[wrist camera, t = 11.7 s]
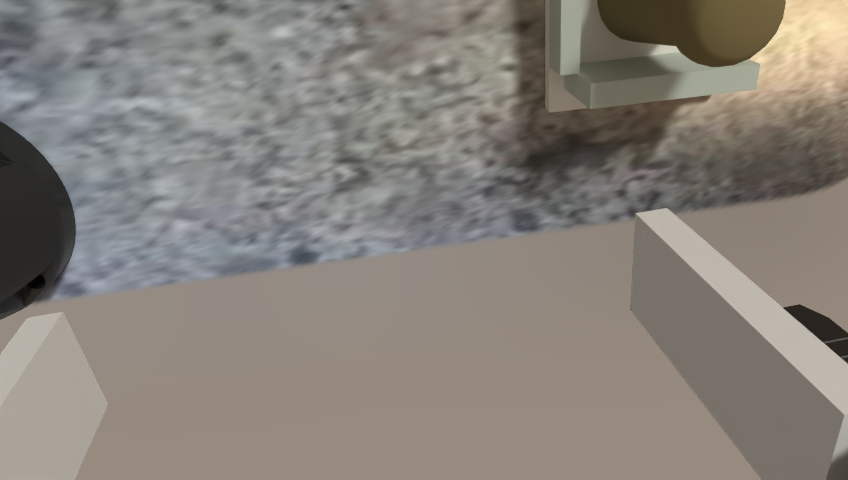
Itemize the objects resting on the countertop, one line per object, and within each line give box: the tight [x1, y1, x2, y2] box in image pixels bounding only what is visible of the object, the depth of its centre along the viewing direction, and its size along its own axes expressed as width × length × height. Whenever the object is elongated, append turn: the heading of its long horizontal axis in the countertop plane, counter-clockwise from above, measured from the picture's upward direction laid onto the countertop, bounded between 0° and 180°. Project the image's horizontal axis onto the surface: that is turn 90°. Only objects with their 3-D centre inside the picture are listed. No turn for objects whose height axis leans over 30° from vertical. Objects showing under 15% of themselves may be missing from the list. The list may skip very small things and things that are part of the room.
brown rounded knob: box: [597, 0, 786, 67], centre depth 33 cm, size 6×6×11 cm
